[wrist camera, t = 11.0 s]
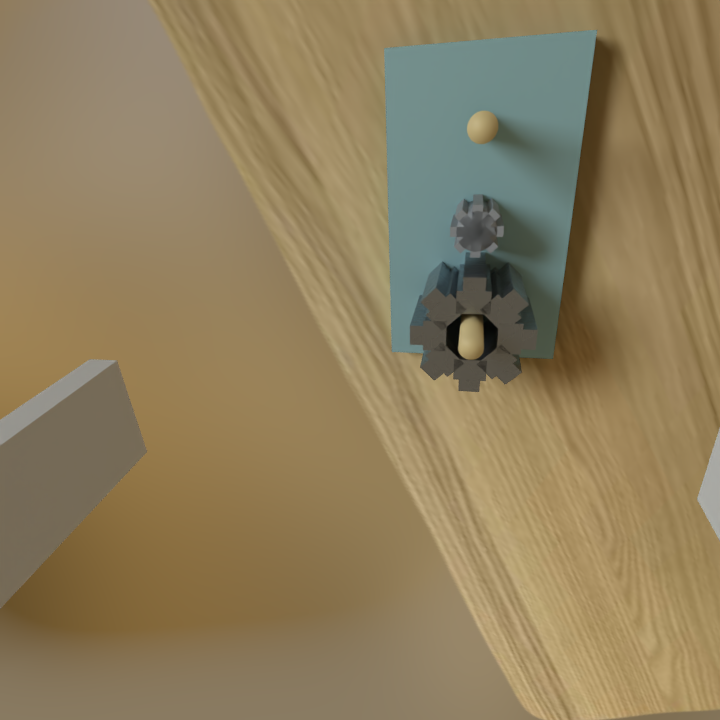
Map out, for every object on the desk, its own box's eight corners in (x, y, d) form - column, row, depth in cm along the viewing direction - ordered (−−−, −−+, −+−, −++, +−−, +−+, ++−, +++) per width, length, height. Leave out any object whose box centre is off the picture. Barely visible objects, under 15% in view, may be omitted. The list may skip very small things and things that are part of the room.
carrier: (389, 51, 26) (353, 27, 19) (590, 34, 24) (639, 0, 17) (395, 342, 34) (371, 407, 26) (549, 348, 32) (571, 421, 24)
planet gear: (419, 252, 29) (409, 276, 25) (533, 252, 28) (543, 278, 24) (419, 350, 32) (410, 387, 28) (522, 354, 31) (530, 395, 26)
